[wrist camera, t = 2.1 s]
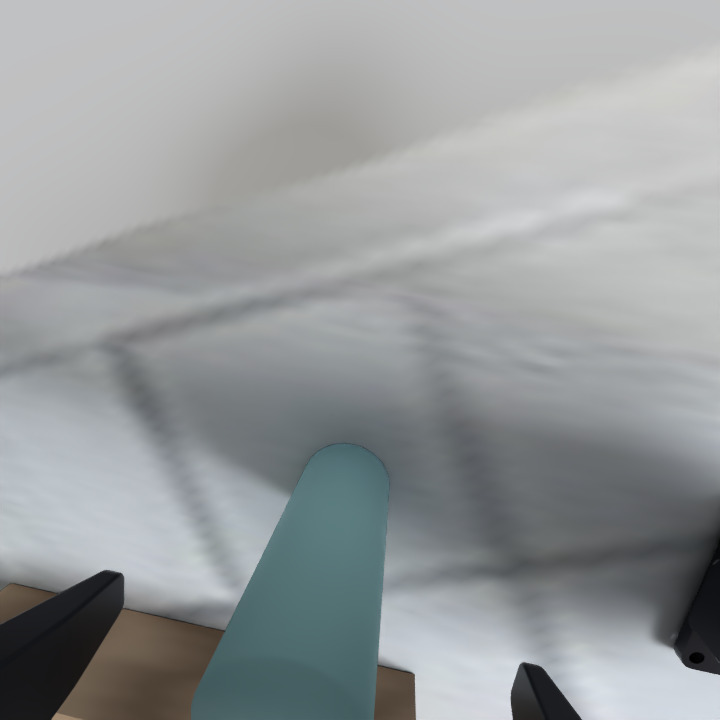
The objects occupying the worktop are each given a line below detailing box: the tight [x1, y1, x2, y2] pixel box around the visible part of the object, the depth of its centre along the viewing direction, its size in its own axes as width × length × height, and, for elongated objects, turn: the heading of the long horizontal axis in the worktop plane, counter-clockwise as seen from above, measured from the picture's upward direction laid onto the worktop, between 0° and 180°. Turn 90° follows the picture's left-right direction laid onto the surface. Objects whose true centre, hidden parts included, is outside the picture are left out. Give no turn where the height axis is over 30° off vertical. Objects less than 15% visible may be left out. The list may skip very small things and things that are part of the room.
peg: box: [191, 443, 389, 720], centre depth 11 cm, size 3×3×8 cm
